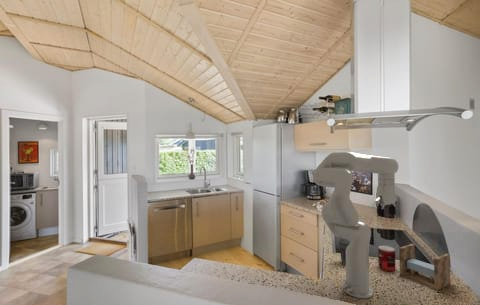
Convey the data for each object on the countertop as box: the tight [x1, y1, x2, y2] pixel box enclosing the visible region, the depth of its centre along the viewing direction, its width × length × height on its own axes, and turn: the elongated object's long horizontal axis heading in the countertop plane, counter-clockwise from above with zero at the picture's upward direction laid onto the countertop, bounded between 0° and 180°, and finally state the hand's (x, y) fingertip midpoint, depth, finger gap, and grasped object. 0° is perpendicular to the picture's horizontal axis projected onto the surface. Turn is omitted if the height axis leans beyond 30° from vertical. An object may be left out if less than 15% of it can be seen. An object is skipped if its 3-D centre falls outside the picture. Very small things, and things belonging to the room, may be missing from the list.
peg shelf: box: [398, 243, 451, 292], centre depth 121 cm, size 12×16×14 cm
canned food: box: [377, 245, 396, 272], centre depth 133 cm, size 8×8×11 cm
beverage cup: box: [338, 237, 351, 266], centre depth 140 cm, size 7×7×20 cm
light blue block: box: [407, 258, 434, 278], centre depth 121 cm, size 12×6×4 cm, turn 28°
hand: (386, 215), depth 127 cm, fingers open, 9 cm apart
